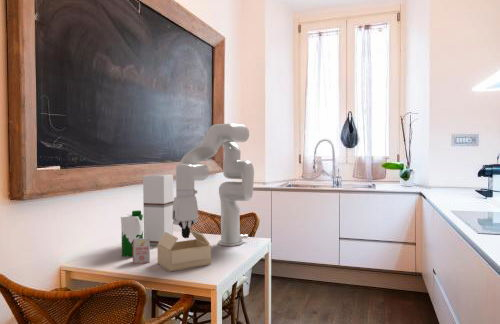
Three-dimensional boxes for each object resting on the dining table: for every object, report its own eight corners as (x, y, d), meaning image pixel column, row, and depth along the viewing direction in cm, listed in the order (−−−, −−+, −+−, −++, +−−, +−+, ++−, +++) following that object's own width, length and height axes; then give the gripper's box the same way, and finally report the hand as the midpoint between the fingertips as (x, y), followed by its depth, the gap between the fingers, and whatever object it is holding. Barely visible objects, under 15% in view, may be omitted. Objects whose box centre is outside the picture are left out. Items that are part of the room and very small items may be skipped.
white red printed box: (133, 261, 166) (133, 238, 165) (150, 260, 167) (149, 237, 167) (132, 263, 162) (132, 239, 162) (149, 262, 163) (149, 239, 163)
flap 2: (197, 238, 171) (189, 229, 169) (210, 243, 160) (202, 234, 158) (196, 239, 171) (188, 230, 169) (209, 244, 160) (201, 235, 158)
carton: (196, 256, 172) (196, 238, 172) (211, 264, 159) (211, 245, 159) (157, 262, 162) (156, 244, 162) (170, 272, 150) (169, 251, 149)
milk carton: (138, 257, 171) (137, 212, 171) (118, 256, 172) (118, 212, 172) (145, 252, 180) (145, 209, 180) (127, 251, 181) (126, 209, 181)
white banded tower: (173, 240, 203) (173, 174, 202) (164, 245, 193) (163, 175, 192) (154, 239, 206) (153, 174, 205) (143, 244, 196) (143, 175, 195)
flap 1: (159, 243, 162) (166, 232, 163) (170, 250, 151) (178, 238, 152) (157, 243, 161) (165, 232, 163) (168, 249, 150) (177, 237, 152)
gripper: (198, 191, 168) (198, 233, 168) (165, 194, 160) (165, 238, 160) (205, 193, 161) (205, 237, 162) (171, 195, 153) (172, 241, 154)
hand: (185, 237), depth 161 cm, fingers closed
